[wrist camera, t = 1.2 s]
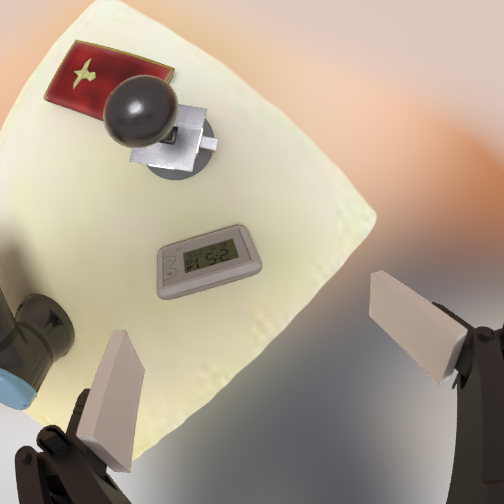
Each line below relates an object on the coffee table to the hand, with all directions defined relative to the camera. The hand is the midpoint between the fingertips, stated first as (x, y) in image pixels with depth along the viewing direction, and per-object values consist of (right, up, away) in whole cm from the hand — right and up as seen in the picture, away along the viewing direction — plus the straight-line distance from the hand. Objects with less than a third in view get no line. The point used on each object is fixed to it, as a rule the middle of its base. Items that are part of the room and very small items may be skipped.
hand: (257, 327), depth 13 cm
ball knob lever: (-10, +18, +17) cm, 27 cm away
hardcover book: (-25, +32, +22) cm, 46 cm away
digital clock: (-9, +4, +34) cm, 35 cm away
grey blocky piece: (-12, +21, +27) cm, 36 cm away
